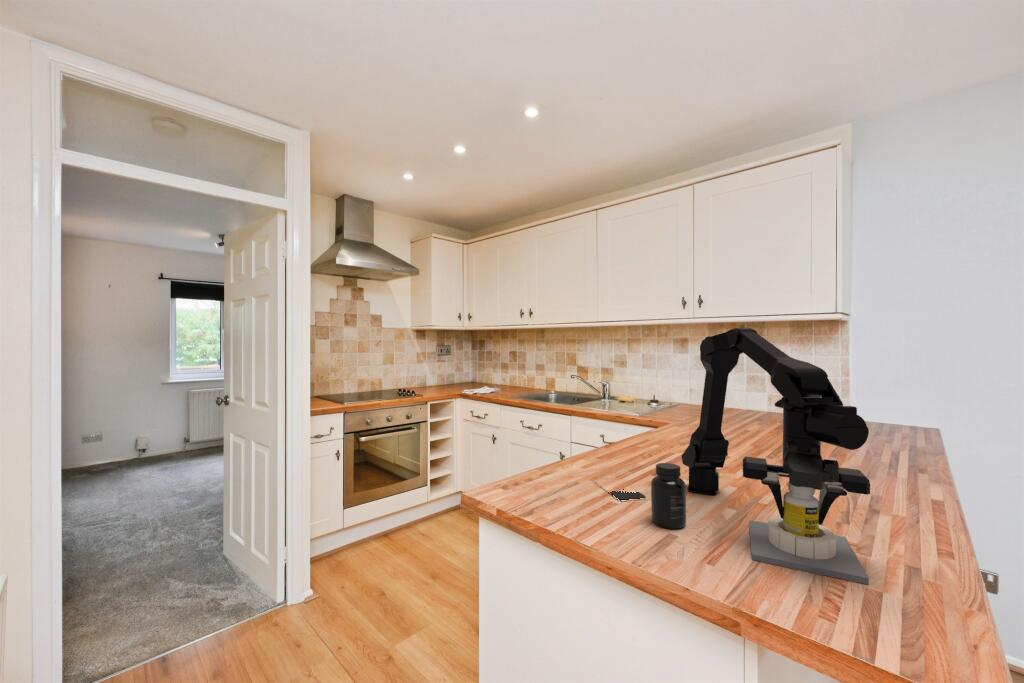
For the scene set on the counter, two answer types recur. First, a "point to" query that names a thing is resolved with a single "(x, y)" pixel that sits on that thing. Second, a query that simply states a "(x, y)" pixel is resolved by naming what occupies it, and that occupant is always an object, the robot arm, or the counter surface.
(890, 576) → the counter surface
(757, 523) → the bottle holder
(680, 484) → the supplement bottle
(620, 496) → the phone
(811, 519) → the supplement bottle
